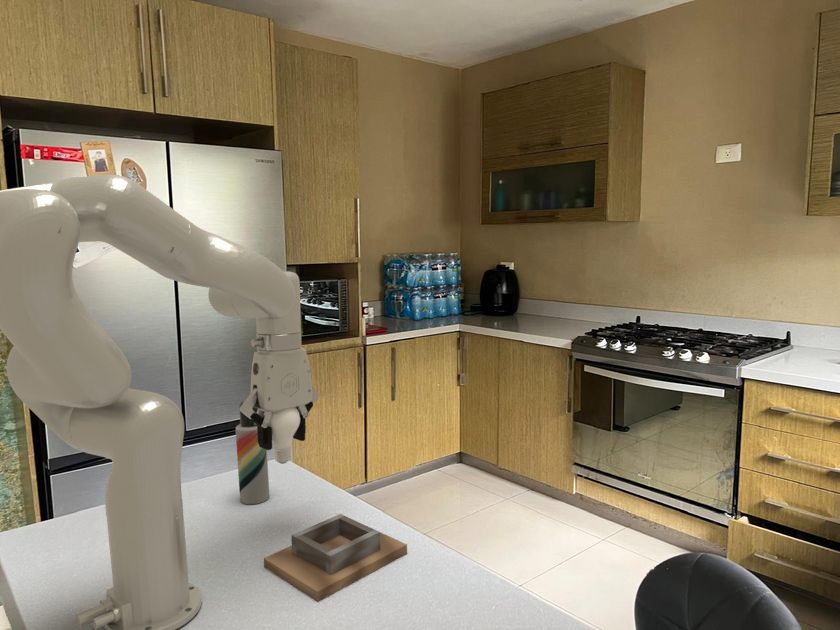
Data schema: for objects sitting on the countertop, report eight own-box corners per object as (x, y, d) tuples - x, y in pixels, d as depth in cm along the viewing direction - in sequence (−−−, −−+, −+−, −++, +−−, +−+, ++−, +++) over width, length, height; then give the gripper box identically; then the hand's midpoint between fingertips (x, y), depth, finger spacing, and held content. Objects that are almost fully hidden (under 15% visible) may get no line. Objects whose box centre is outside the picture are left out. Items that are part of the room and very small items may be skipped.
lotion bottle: (239, 495, 126) (233, 399, 124) (268, 491, 128) (263, 396, 125) (240, 506, 121) (234, 406, 118) (270, 502, 122) (264, 403, 120)
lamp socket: (317, 601, 89) (316, 571, 88) (264, 567, 98) (262, 540, 98) (407, 553, 102) (406, 527, 101) (351, 526, 111) (350, 502, 111)
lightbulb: (305, 457, 113) (304, 398, 112) (295, 469, 107) (293, 406, 106) (271, 456, 114) (269, 397, 113) (259, 468, 107) (257, 406, 106)
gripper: (246, 350, 99) (250, 460, 101) (332, 339, 112) (334, 437, 113) (222, 346, 104) (226, 450, 106) (307, 335, 117) (309, 429, 119)
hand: (282, 442), depth 110 cm, fingers closed on lightbulb, 6 cm apart
